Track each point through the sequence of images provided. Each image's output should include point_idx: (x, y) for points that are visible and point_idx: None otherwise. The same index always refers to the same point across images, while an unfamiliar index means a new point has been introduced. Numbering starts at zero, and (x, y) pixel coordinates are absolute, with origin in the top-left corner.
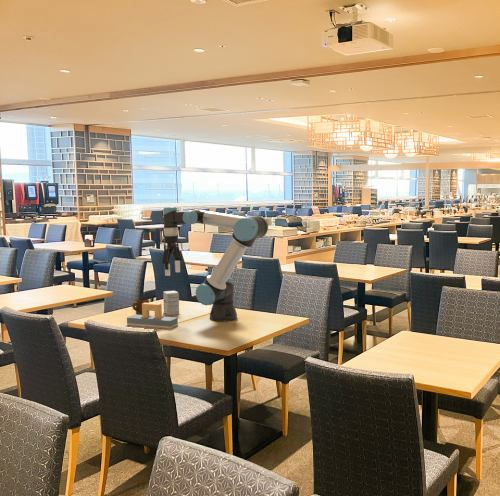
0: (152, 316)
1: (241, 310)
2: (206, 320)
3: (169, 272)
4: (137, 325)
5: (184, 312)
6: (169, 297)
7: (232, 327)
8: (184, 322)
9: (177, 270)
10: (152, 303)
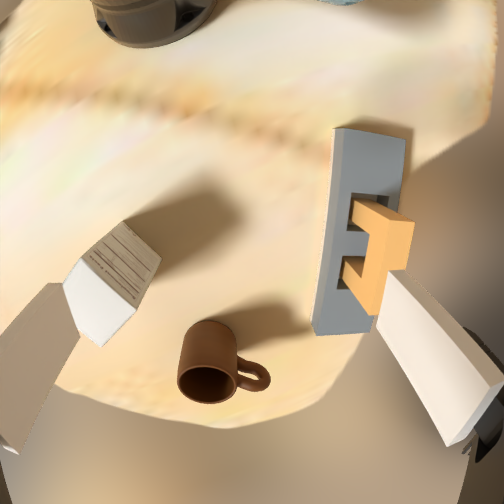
0: (343, 253)
1: (21, 24)
2: (213, 40)
3: (425, 293)
4: None
5: (92, 211)
6: (132, 287)
7: None
8: (278, 117)
9: (60, 325)
10: (388, 269)
